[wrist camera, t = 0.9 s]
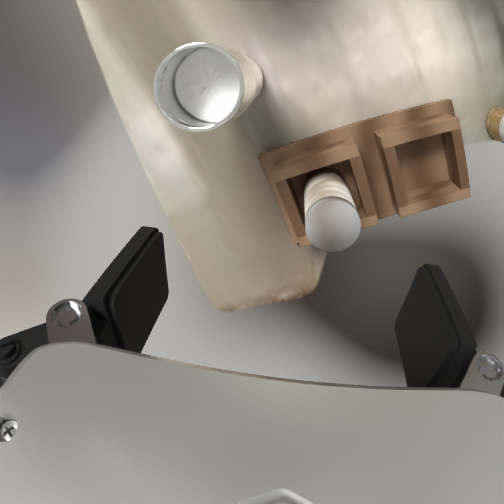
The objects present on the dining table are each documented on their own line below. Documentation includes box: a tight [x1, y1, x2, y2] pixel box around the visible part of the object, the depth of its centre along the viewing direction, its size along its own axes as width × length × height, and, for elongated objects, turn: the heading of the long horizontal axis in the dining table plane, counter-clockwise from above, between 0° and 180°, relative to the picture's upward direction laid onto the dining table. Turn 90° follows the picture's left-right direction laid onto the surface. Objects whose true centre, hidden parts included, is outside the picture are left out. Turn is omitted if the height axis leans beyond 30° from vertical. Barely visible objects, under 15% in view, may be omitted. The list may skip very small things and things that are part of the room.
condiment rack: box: [258, 99, 471, 252], centre depth 31 cm, size 24×12×11 cm, turn 113°
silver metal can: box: [153, 42, 263, 132], centre depth 26 cm, size 7×7×15 cm
